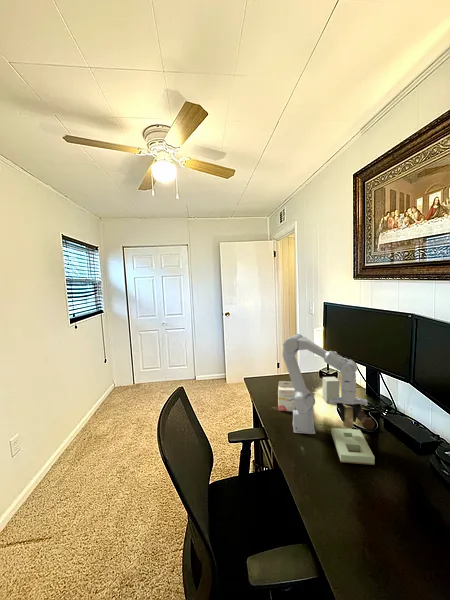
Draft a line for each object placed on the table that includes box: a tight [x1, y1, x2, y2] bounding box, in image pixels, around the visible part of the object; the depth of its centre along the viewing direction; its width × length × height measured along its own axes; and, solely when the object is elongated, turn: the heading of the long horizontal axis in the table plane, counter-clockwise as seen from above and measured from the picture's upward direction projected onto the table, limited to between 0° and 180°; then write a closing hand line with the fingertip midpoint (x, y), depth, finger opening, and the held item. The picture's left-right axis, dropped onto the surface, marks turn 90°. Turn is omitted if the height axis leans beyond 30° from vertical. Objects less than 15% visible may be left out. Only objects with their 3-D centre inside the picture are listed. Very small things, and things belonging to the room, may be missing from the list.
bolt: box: [356, 409, 376, 430], centre depth 144 cm, size 6×5×15 cm
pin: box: [342, 405, 354, 429], centre depth 126 cm, size 4×4×8 cm
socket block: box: [330, 427, 376, 466], centre depth 122 cm, size 12×20×3 cm, turn 170°
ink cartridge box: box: [277, 380, 296, 412], centre depth 158 cm, size 9×5×15 cm, turn 84°
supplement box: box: [322, 376, 340, 404], centre depth 168 cm, size 7×7×13 cm
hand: (348, 420), depth 126 cm, fingers closed on pin, 4 cm apart
